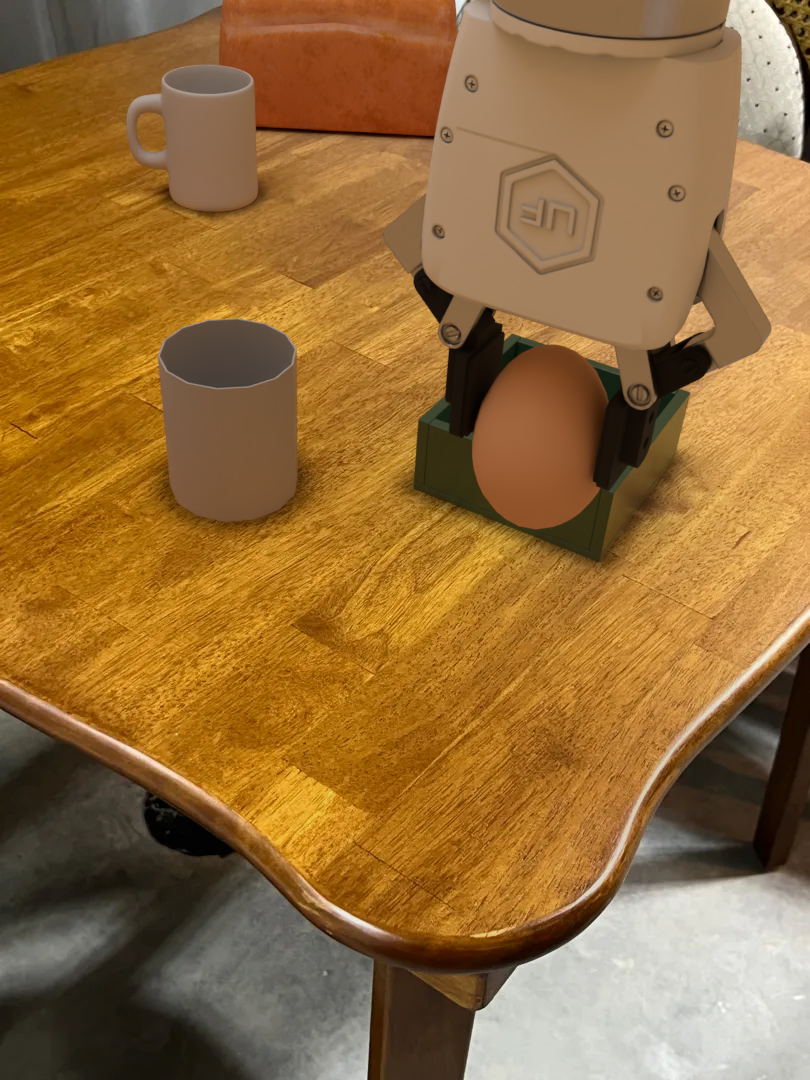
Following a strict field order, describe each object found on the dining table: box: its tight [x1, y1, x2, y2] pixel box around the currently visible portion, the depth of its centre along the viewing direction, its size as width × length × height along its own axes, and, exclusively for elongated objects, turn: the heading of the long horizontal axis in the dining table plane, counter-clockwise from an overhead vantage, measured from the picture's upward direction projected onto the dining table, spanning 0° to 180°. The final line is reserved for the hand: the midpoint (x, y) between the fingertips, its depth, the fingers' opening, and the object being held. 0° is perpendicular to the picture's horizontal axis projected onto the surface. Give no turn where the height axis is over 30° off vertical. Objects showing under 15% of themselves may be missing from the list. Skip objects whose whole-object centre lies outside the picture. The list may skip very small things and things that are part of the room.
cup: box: [157, 317, 299, 523], centre depth 74 cm, size 8×8×10 cm
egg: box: [472, 344, 609, 529], centre depth 48 cm, size 6×6×8 cm
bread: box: [218, 0, 459, 137], centre depth 126 cm, size 14×26×16 cm, turn 90°
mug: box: [125, 64, 259, 213], centre depth 109 cm, size 12×8×11 cm
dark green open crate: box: [412, 333, 691, 563], centre depth 78 cm, size 14×14×6 cm
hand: (542, 442), depth 48 cm, fingers closed on egg, 5 cm apart
